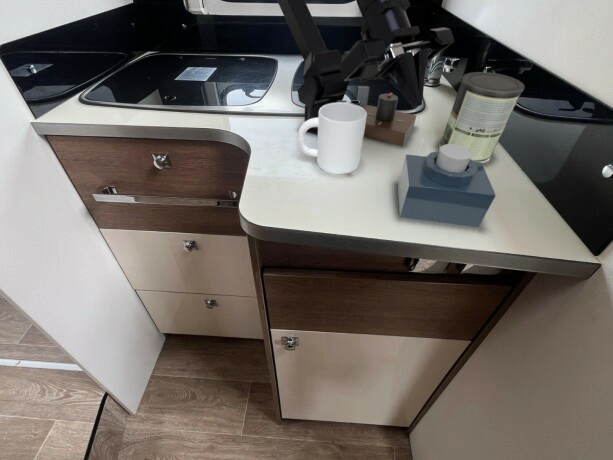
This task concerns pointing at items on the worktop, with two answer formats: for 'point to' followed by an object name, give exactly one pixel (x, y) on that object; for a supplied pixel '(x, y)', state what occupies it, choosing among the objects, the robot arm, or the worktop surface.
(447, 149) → the push button
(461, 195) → the button base
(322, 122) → the mug
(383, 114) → the dial
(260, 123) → the worktop surface
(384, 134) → the dial panel
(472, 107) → the coffee can
